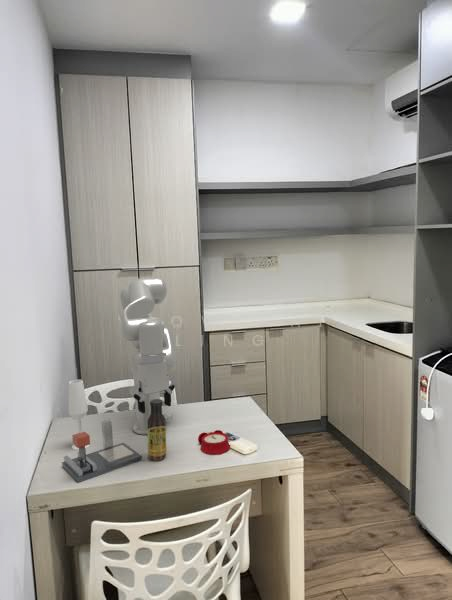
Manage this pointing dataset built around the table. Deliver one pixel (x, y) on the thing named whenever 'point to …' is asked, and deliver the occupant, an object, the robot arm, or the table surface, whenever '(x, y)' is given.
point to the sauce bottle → (156, 432)
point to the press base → (102, 457)
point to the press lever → (82, 449)
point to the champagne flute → (77, 403)
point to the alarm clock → (214, 442)
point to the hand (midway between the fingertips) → (155, 408)
